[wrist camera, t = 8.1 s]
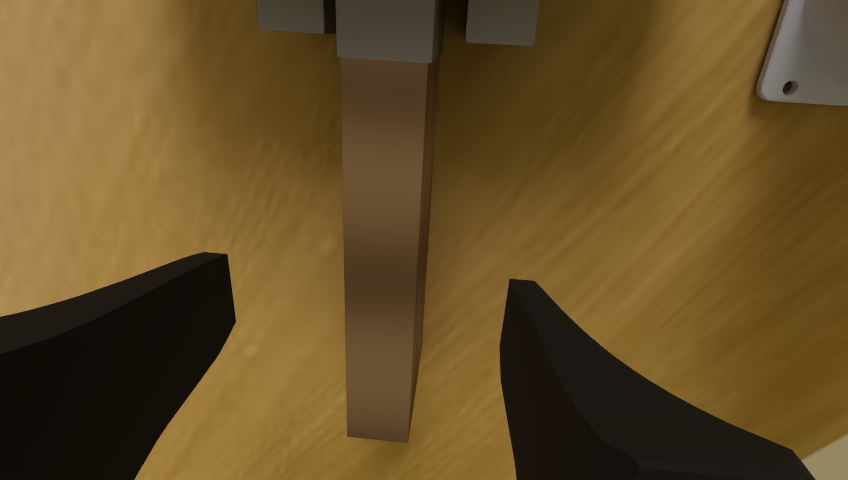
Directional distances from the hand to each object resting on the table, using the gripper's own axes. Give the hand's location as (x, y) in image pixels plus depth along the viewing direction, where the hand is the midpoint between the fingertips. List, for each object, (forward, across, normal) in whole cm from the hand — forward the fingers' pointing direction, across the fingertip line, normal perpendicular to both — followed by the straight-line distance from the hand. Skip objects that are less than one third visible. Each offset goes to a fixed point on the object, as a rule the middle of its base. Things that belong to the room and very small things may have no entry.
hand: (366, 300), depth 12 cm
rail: (+9, 0, 0) cm, 9 cm away
